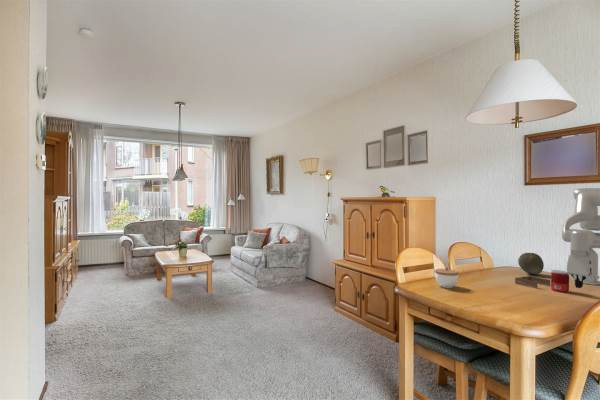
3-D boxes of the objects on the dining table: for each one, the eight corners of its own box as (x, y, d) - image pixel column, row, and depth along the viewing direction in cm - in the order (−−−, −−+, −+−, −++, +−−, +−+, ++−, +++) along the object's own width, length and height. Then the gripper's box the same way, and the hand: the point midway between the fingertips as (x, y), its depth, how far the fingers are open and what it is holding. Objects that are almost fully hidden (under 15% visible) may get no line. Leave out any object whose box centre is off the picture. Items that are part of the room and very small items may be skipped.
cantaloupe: (538, 273, 233) (538, 251, 233) (546, 277, 219) (547, 255, 219) (515, 271, 237) (515, 250, 237) (522, 275, 223) (522, 253, 223)
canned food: (572, 293, 182) (572, 273, 182) (555, 292, 184) (555, 272, 184) (563, 289, 190) (564, 270, 190) (548, 288, 191) (548, 269, 191)
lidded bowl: (451, 290, 184) (452, 270, 184) (430, 285, 194) (430, 267, 194) (462, 287, 192) (462, 268, 192) (441, 282, 202) (441, 264, 202)
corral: (529, 281, 208) (529, 275, 208) (550, 285, 197) (550, 280, 197) (515, 283, 202) (515, 277, 202) (536, 288, 191) (536, 282, 191)
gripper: (600, 255, 173) (599, 290, 173) (567, 251, 187) (566, 283, 187) (592, 256, 170) (592, 291, 170) (559, 252, 184) (559, 284, 184)
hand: (578, 287), depth 179 cm, fingers closed
